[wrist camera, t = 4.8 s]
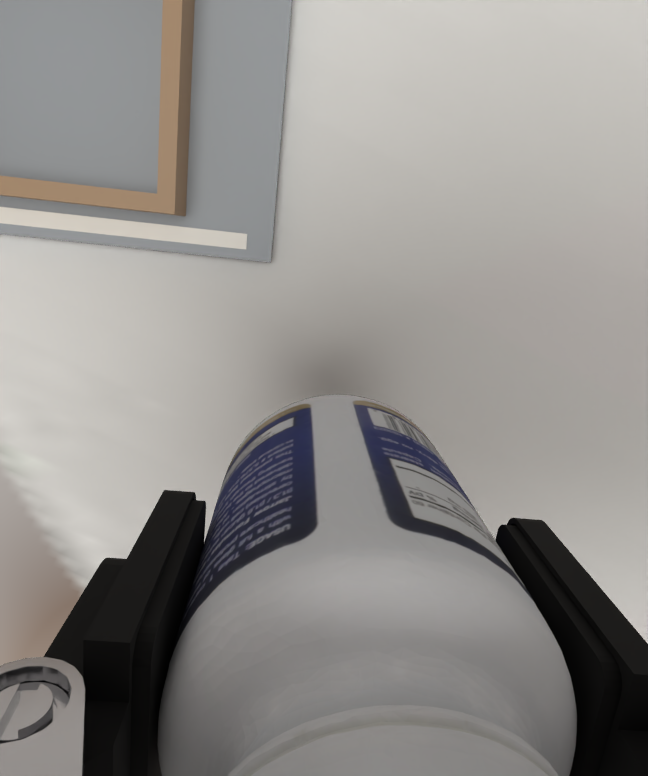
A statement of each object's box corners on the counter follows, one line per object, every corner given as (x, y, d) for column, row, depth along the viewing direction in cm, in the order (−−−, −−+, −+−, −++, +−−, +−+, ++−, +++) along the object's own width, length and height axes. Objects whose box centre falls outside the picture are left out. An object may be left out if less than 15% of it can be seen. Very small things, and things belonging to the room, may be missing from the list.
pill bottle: (239, 599, 14) (125, 1277, 5) (210, 401, 13) (-27, 830, 4) (447, 578, 15) (714, 1207, 5) (440, 379, 13) (794, 743, 4)
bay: (298, -76, 20) (302, -139, 17) (271, 261, 23) (269, 266, 20) (-182, -158, 18) (-284, -245, 15) (-143, 217, 22) (-221, 214, 18)
